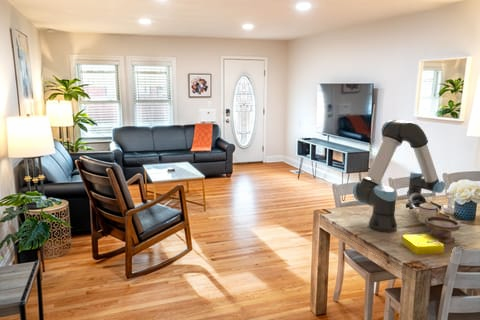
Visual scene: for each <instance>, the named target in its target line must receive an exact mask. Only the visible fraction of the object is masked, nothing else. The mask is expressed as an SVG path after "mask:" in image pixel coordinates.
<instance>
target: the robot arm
mask: <svg viewBox="0 0 480 320" xmlns="http://www.w3.org/2000/svg"><path fill="white" fill-rule="evenodd" d="M381 139H382V143H381V145H380V147H379V149H378V151H377V153H376V155H375V157H374V159H373V161H372V164H371V166H370V168H369V170H368V172H367V174H366V176H363V177H362V179H361V180H360V181H358V182H356V183H355V184H354V185H353V188H352V194H353V198H354V199H355V200H356V201H358V202H360V203H361V204H366V205H368V206H370V207H372V214H371V217H370V219H369V221H368V227H369V229H372V230H373V231H376V232H381V233H392V232H396V231H397V229H398V224H397V220H396V216H395V213H396V205H397V204H396V202H397V192H396V189H394V187H390V186H388V185H383V184H381V182H382V180H383V178H384V177H385V174H386V172H387V169H388V167H389V164H390V163H391V162H392V159H393V156H394V154H395V152H396V150H397V148H398V147H401V145H402V143H403V142H407V143H408V144H409V146H410V148H412V149H413V152H414V155H415V158H416V160H417V163H418V166H419V169H420V171H418V170H416V171H411V172H410V174H409V178H408V180H409V181H408V190H407V191H406V196H407V198H408V200H407V202H406V203H405V209H408V210H410V211H411V210H412V212H413V213H414V212H415V213H416V210H417V209H416V207H418V208H420V207H419V206H420V204H424V203H427V200H426V198H425V196H423V195H422V189H423V190H425V191H426V190H427V191H429V192H433V193H438V194H440V193H442V192H443V191H444V190H445V188H446V184H445V182H444V181H442V180H441V179H439V177H438V173H437V170H436V168H435V164H434V162H433V159H432V155H431V152H430V150H429V147H428V143H429V140H428V137H427V136H426V133H425V132H424V130H423V129H422V127H420V126H419V124H417V123H416V122H413V121H409V120H408V121H407V120H398V119H390V120H387V121H386V122H385V123H384V124H383V125H382V126H381ZM429 202H431V204H433V205H435V206H436V207H437V209H436V215H440V211H442V205H440V204H437V203H435V202H433V201H431V200H430V201H429Z"/></svg>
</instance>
